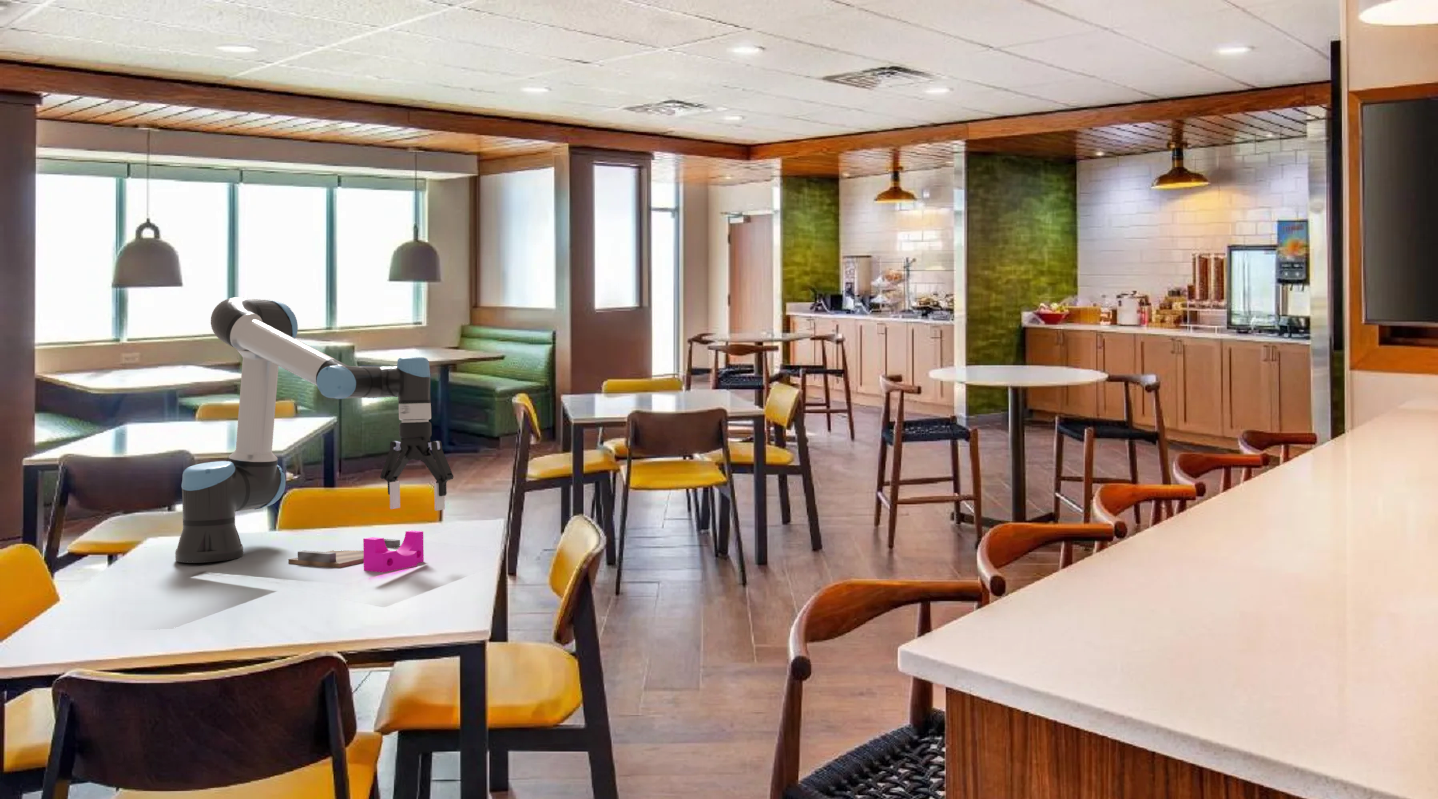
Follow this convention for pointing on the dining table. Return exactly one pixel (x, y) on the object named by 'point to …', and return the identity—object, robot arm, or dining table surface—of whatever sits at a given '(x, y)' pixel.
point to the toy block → (393, 553)
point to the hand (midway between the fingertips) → (417, 509)
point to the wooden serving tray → (334, 557)
